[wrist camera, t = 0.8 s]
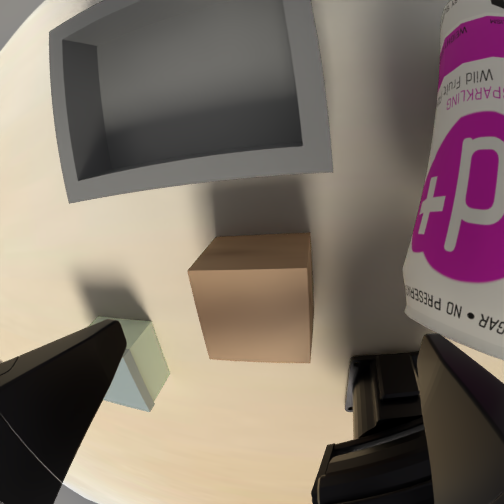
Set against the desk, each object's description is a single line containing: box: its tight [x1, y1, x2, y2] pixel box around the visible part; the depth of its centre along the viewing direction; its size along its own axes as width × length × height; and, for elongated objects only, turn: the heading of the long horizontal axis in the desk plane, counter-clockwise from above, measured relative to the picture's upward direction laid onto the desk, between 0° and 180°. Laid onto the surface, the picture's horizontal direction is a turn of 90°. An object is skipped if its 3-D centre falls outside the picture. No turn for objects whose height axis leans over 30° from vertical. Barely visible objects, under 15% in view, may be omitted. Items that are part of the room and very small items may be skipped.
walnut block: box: [188, 232, 314, 363], centre depth 18 cm, size 6×6×5 cm
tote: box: [49, 0, 333, 204], centre depth 14 cm, size 11×15×4 cm
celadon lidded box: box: [88, 316, 170, 412], centre depth 24 cm, size 6×6×5 cm
